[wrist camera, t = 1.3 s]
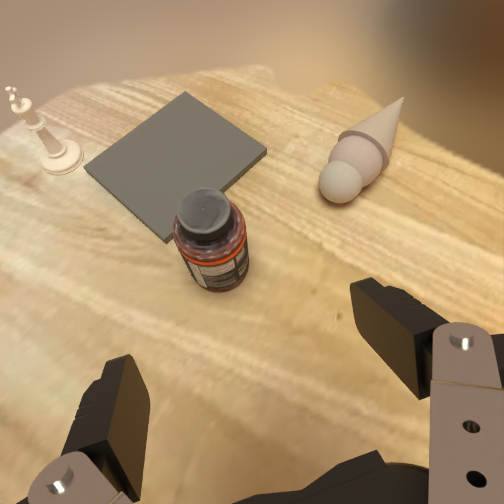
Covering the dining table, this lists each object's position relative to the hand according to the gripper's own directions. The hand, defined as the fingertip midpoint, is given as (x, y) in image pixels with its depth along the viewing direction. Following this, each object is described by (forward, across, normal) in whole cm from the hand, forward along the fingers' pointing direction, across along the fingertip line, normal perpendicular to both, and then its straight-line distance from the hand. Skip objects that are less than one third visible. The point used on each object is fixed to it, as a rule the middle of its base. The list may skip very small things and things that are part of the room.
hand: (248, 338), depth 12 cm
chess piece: (+36, +14, -8) cm, 40 cm away
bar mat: (+33, +2, -4) cm, 33 cm away
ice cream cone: (+28, -19, +1) cm, 34 cm away
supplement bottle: (+23, 0, +6) cm, 24 cm away
